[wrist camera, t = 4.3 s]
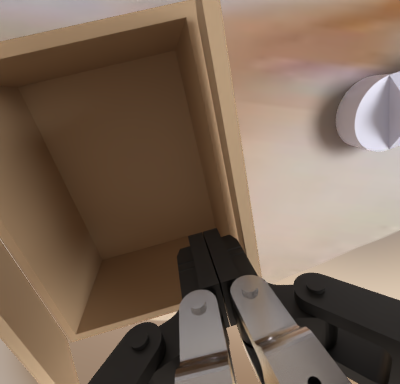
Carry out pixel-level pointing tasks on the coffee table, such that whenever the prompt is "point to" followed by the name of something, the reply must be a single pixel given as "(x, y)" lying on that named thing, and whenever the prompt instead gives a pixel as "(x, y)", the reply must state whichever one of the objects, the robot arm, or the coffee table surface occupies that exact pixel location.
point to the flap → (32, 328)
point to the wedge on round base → (371, 113)
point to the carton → (109, 164)
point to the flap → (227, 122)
